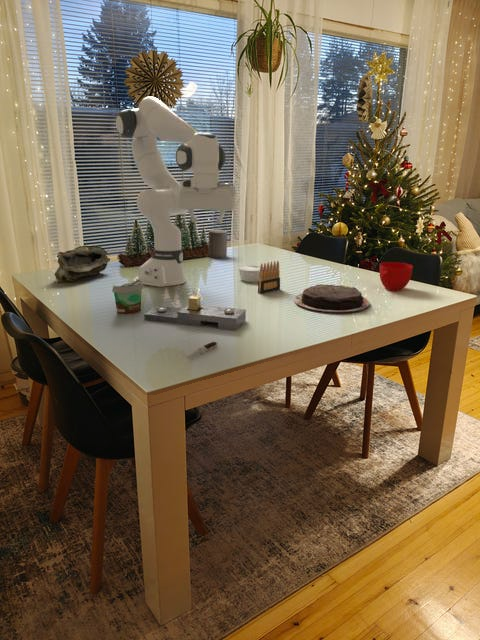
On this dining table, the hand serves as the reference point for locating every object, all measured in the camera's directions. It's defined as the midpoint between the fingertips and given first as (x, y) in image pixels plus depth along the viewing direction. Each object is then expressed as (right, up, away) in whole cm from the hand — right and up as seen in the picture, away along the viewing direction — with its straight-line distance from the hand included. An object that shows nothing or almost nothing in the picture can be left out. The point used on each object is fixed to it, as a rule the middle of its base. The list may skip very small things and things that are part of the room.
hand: (206, 222), depth 176 cm
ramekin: (+17, -17, +42) cm, 48 cm away
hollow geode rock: (-57, -16, +43) cm, 73 cm away
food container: (-25, -32, -3) cm, 41 cm away
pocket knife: (+1, -44, -38) cm, 58 cm away
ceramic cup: (+74, -22, +28) cm, 82 cm away
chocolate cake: (+46, -29, +10) cm, 55 cm away
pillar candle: (0, -1, +89) cm, 89 cm away
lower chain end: (-9, -34, -10) cm, 36 cm away
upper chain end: (+3, -35, -13) cm, 38 cm away
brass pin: (-3, -35, -12) cm, 37 cm away
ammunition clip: (+24, -23, +24) cm, 41 cm away
